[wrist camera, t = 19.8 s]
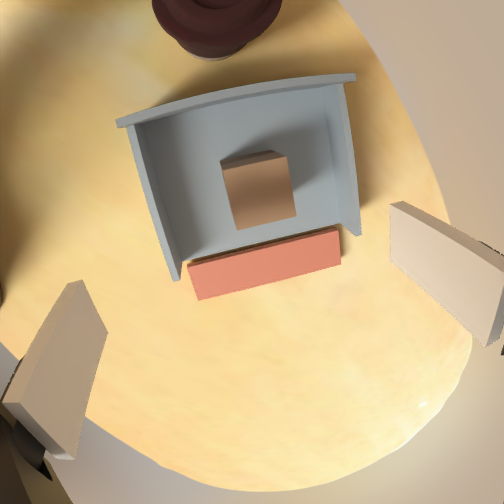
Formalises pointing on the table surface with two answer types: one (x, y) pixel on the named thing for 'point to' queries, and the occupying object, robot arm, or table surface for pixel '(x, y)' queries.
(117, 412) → the table surface
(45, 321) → the robot arm
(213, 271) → the panel
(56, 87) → the table surface
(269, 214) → the walnut block
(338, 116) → the truck bed
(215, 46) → the coffee cup
